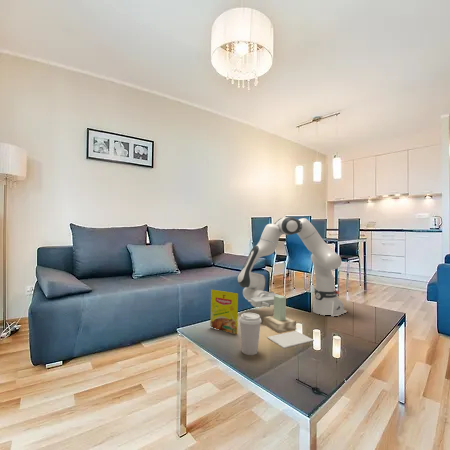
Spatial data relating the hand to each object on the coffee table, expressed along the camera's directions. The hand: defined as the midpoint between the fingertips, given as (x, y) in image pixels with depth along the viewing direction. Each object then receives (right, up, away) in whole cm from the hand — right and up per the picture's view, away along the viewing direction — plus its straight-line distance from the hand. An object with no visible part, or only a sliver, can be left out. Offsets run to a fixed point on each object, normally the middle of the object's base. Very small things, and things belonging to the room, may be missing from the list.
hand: (276, 304), depth 142 cm
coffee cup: (-18, -10, -32) cm, 38 cm away
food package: (-29, -10, -11) cm, 32 cm away
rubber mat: (+3, -11, -19) cm, 22 cm away
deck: (+1, -11, -3) cm, 11 cm away
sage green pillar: (+1, -7, -3) cm, 7 cm away
